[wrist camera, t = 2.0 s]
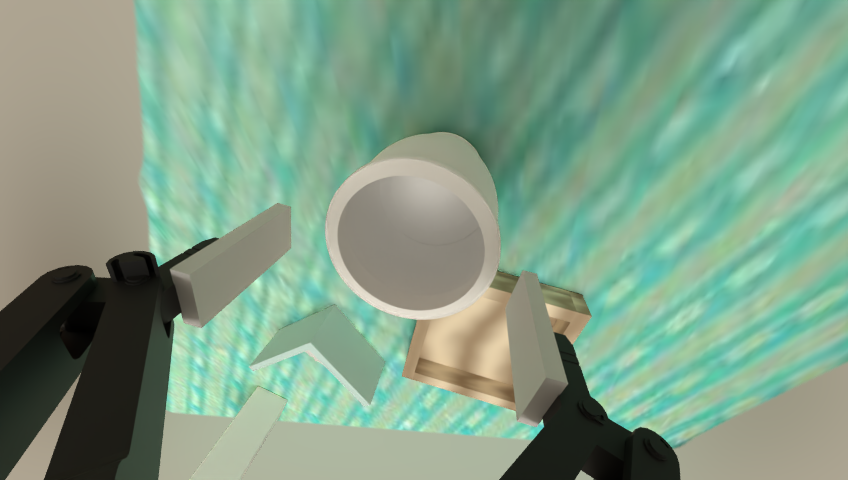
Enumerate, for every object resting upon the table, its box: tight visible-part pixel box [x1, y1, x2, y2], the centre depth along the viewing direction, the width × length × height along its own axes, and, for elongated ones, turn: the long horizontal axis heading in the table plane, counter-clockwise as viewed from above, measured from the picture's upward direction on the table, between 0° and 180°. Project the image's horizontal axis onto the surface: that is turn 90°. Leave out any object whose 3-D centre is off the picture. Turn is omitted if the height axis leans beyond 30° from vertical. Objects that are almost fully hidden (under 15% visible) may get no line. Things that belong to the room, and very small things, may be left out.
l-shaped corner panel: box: [249, 304, 385, 406], centre depth 43 cm, size 12×12×8 cm
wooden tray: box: [402, 271, 592, 411], centre depth 37 cm, size 17×18×4 cm
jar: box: [325, 132, 501, 320], centre depth 24 cm, size 11×10×15 cm
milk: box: [189, 386, 288, 480], centre depth 47 cm, size 6×6×22 cm
